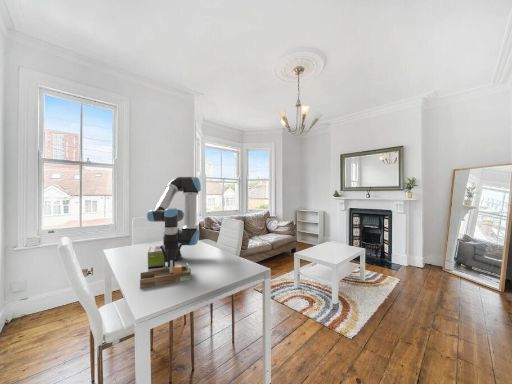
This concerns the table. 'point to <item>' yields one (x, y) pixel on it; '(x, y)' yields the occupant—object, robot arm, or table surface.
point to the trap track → (164, 277)
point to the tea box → (155, 258)
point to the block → (177, 269)
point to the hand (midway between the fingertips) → (171, 271)
